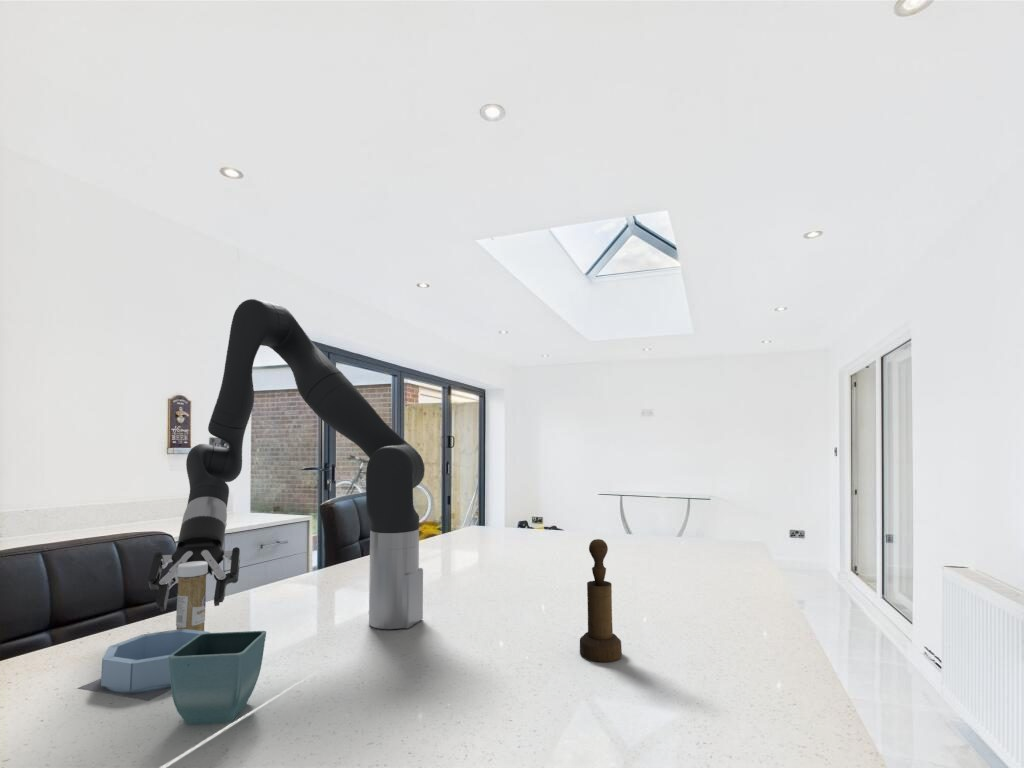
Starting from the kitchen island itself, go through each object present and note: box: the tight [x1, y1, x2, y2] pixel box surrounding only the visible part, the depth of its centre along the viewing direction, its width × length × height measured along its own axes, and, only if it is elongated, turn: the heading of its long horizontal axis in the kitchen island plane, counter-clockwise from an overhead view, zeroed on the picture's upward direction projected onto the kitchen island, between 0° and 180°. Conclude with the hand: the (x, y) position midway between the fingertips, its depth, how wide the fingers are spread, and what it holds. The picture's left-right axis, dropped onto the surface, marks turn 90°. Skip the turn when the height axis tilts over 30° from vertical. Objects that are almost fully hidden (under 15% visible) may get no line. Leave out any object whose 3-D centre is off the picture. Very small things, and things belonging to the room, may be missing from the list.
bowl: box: [100, 629, 211, 693], centre depth 84 cm, size 13×13×4 cm
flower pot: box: [168, 630, 267, 726], centre depth 72 cm, size 9×9×9 cm
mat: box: [77, 678, 171, 701], centre depth 84 cm, size 13×14×1 cm
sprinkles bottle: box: [175, 561, 208, 631], centre depth 98 cm, size 5×5×13 cm
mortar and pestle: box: [579, 538, 623, 663], centre depth 92 cm, size 7×6×18 cm
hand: (189, 605), depth 97 cm, fingers open, 7 cm apart
